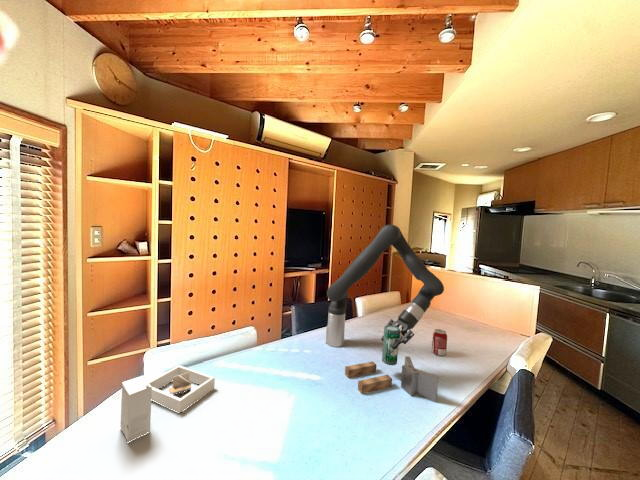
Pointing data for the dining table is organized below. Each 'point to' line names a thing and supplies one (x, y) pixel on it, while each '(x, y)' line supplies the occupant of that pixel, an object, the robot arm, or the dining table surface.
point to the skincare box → (136, 407)
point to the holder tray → (182, 403)
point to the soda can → (439, 342)
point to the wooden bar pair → (370, 383)
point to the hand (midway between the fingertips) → (387, 344)
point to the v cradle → (418, 381)
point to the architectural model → (181, 384)
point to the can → (389, 338)
